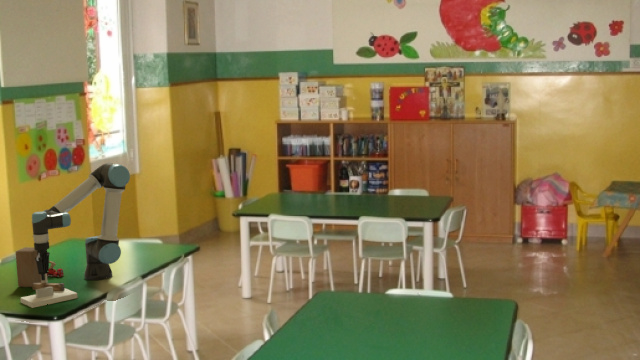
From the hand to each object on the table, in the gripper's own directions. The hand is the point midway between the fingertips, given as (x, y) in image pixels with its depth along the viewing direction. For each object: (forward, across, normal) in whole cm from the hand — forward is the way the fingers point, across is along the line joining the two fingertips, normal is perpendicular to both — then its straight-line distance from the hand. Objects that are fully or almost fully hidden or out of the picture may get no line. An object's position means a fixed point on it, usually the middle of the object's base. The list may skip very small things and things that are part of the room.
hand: (44, 285), depth 450 cm
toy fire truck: (+5, -36, -11) cm, 38 cm away
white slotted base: (+4, +13, +8) cm, 15 cm away
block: (+4, -17, -16) cm, 23 cm away
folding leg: (+1, +3, +4) cm, 5 cm away
